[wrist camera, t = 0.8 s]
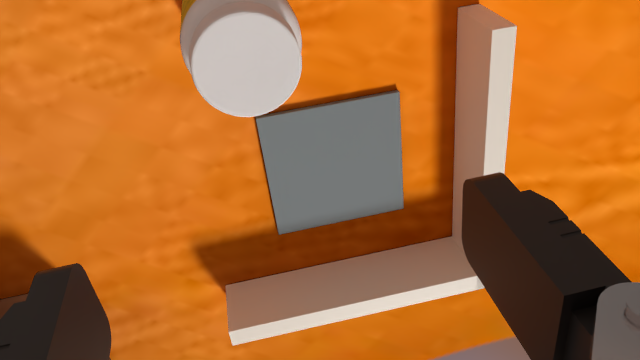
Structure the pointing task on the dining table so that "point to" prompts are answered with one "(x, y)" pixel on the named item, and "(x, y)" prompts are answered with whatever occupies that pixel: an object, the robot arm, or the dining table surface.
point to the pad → (333, 161)
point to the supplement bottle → (242, 53)
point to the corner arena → (414, 260)
